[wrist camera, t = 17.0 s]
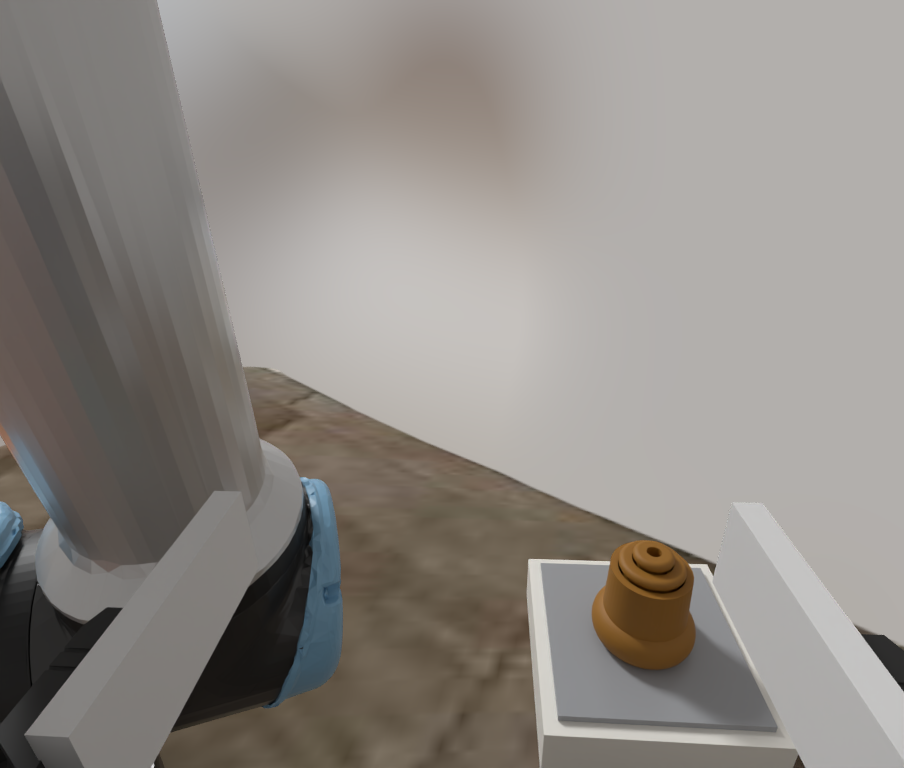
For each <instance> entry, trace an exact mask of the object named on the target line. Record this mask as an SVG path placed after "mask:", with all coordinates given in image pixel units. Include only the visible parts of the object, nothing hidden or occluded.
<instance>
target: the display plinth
mask: <svg viewBox="0 0 904 768" xmlns="http://www.w3.org/2000/svg"><path fill="white" fill-rule="evenodd" d="M609 565H610V561H578V560H546V559H528V580H527V605H528V618H529V631H530V644H531V657H532V670H533V683H534V696H535V709H536V722H537V736H538V749H539V762H540V768H793V766H794V764H795V761H796V759H797V756H798V752H797V750H796V748H795V746H794V744H793V742H792V740H791V738H790V736H789V734H788V732H787V730H786V728H785V726H784V724H783V722H782V720H781V718H780V716H779V714H778V712H777V710H776V708H775V706H774V704H773V702H772V700H771V698H770V696H769V694H768V692H767V690H766V688H765V686H764V684H763V682H762V680H761V678H760V676H759V674H758V672H757V670H756V668H755V666H754V664H753V662H752V660H751V658H750V656H749V654H748V652H747V650H746V648H745V646H744V644H743V642H742V640H741V638H740V636H739V634H738V632H737V630H736V628H735V626H734V624H733V622H732V620H731V618H730V616H729V614H728V612H727V610H726V608H725V606H724V604H723V602H722V600H721V598H720V596H719V594H718V592H717V590H716V588H715V586H714V584H713V582H712V581H713V575H712V574H711V572H710V570H709V568H708V566H707V565H705V564H689V566H690V567H691V569H692V571H693V574H694V585H693V591H692V597H691V603H690V609H689V611H690V613H691V615H692V617H693V620H694V623H695V629H696V639H695V644H694V646H693V649H692V651H691V652H690V654H689V655H688V657H687V658H686V659H685V660H684V661H682V662H681V663H679V664H678V665H676V666H673V667H671V668H667V669H661V670H649V669H643V668H639V667H636V666H633V665H630V664H628V663H626V662H624V661H622V660H621V659H619V658H618V657H616V656H615V655H614V654H612V653H611V652H610V651H609V650H608V649H607V648H606V647H605V646H604V645H603V643H602V642H601V641H600V639H599V637H598V636H597V634H596V631H595V629H594V626H593V622H592V605H593V602H594V599H595V597H596V595H597V594H598V592H599V591H600V590H601V589H602V588H603V587H604V586H605V585H606V581H607V576H608V571H609Z"/></svg>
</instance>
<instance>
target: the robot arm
mask: <svg viewBox="0 0 904 768" xmlns="http://www.w3.org/2000/svg"><path fill="white" fill-rule="evenodd" d="M0 436H1V437H2V439H3V441H4V442H5V444H6V445H7V447H8V449H9V450H10V452H11V454H12V455H13V457H14V459H15V460H16V462H17V463H18V465H19V467H20V468H21V470H22V472H23V473H24V475H25V476H26V478H27V480H28V481H29V483H30V485H31V486H32V488H33V490H34V491H35V493H36V494H37V496H38V498H39V499H40V501H41V503H42V504H43V506H44V507H45V509H46V511H47V512H48V514H49V516H50V519H49V520H48V522H47V524H46V525H45V527H44V528H43V529H38V530H31V531H26V530H23V528H24V526H23V520H22V518H21V516H20V514H19V513H17V512H15V511H12V510H11V508H10V507H9V506H8V505H7V504H6V503H4V502H1V501H0V768H164V765H163V763H162V760H161V757H160V755H159V752H160V750H161V748H162V746H163V744H164V743H165V741H166V739H167V737H168V735H169V733H170V732H174V731H177V730H181V729H184V728H188V727H191V726H195V725H198V724H202V723H205V722H209V721H212V720H216V719H219V718H222V717H226V716H229V715H233V714H236V713H240V712H243V711H247V710H250V709H254V708H257V707H261V706H262V707H263V708H272V707H276V706H278V705H279V704H280V703H282V702H283V701H284V700H285V699H287V698H290V697H293V696H296V695H298V694H301V693H304V692H307V691H310V690H313V689H316V688H318V687H320V686H321V685H323V684H324V683H326V682H327V681H328V680H329V679H330V678H331V676H332V675H333V673H334V672H335V670H336V668H337V666H338V663H339V659H340V655H341V648H342V634H343V607H342V595H341V590H340V584H341V579H340V573H341V564H340V552H339V542H338V533H337V525H336V518H335V512H334V507H333V502H332V497H331V494H330V491H329V488H328V486H327V485H326V484H325V483H324V482H323V481H321V480H319V479H308V478H305V477H303V478H302V477H299V475H298V473H297V470H296V468H295V466H294V465H293V463H292V461H291V460H290V459H289V458H288V457H287V456H286V455H285V454H284V453H283V452H282V451H280V450H279V449H278V448H276V447H275V446H273V445H271V444H270V443H268V442H266V441H263V440H261V439H259V435H258V431H257V427H256V423H255V418H254V414H253V410H252V405H251V401H250V397H249V393H248V388H247V384H246V380H245V376H244V371H243V367H242V363H241V358H240V354H239V350H238V346H237V342H236V337H235V333H234V329H233V324H232V320H231V316H230V312H229V307H228V303H227V299H226V294H225V290H224V286H223V282H222V278H221V273H220V269H219V264H218V260H217V256H216V252H215V248H214V243H213V239H212V235H211V230H210V226H209V222H208V218H207V213H206V209H205V205H204V200H203V196H202V192H201V188H200V183H199V179H198V175H197V171H196V167H195V162H194V158H193V153H192V149H191V145H190V141H189V136H188V132H187V128H186V124H185V119H184V115H183V111H182V106H181V103H180V98H179V94H178V90H177V85H176V81H175V77H174V72H173V68H172V64H171V60H170V56H169V51H168V47H167V42H166V38H165V34H164V30H163V25H162V21H161V17H160V13H159V8H158V4H157V0H0ZM712 582H713V584H714V586H715V588H716V590H717V592H718V594H719V596H720V598H721V600H722V602H723V604H724V606H725V608H726V610H727V612H728V614H729V616H730V618H731V620H732V622H733V624H734V626H735V628H736V630H737V632H738V634H739V636H740V638H741V640H742V642H743V644H744V646H745V648H746V650H747V652H748V654H749V656H750V658H751V660H752V662H753V664H754V666H755V668H756V670H757V672H758V674H759V676H760V678H761V680H762V682H763V684H764V686H765V688H766V690H767V692H768V694H769V696H770V698H771V700H772V702H773V704H774V706H775V708H776V710H777V712H778V714H779V716H780V718H781V720H782V722H783V724H784V726H785V728H786V730H787V732H788V734H789V736H790V738H791V740H792V742H793V744H794V746H795V748H796V750H797V752H798V754H799V756H800V758H801V760H802V762H803V764H804V766H805V768H904V651H903V650H902V649H901V648H900V647H898V646H897V645H896V644H894V643H893V642H892V641H891V640H889V639H888V638H887V637H886V636H884V635H865V634H860V633H859V631H858V630H857V629H856V627H855V626H854V625H853V623H852V622H851V621H850V619H849V618H848V617H847V615H846V614H845V613H844V611H843V610H842V609H841V608H840V606H839V605H838V603H837V602H836V601H835V599H834V598H833V597H832V595H831V594H830V593H829V591H828V590H827V589H826V587H825V586H824V585H823V583H822V582H821V581H820V579H819V578H818V577H817V575H816V574H815V573H814V571H813V570H812V569H811V567H810V566H809V565H808V563H807V562H806V560H805V559H804V558H803V557H802V555H801V554H800V552H799V551H798V550H797V548H796V547H795V546H794V544H793V543H792V542H791V540H790V539H789V538H788V537H787V535H786V534H785V532H784V531H783V530H782V528H781V527H780V526H779V525H778V523H777V522H776V520H775V519H774V518H773V516H772V515H771V514H770V512H769V511H768V510H767V508H766V507H765V506H764V504H763V503H740V502H732V504H731V508H730V512H729V516H728V521H727V525H726V528H725V532H724V536H723V541H722V545H721V549H720V553H719V557H718V561H717V565H716V569H715V573H714V577H713V581H712Z"/></svg>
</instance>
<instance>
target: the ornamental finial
mask: <svg viewBox="0 0 904 768" xmlns="http://www.w3.org/2000/svg"><path fill="white" fill-rule="evenodd" d="M693 585H694V574H693V571H692V569H691V567H690V566H689V564H688V563H687V562H686V561H685V560H684V559H683V558H682V557H681V556H680V555H679V554H677V553H676V552H675V551H674V550H672V549H671V548H669V547H667V546H665V545H663V544H661V543H659V542H656V541H646V540H641V541H634V542H630V543H626V544H624V545H621V546H620V547H618V548H617V549H616V550H615V551H614V552H613V554H612V556H611V560H610V565H609V571H608V576H607V581H606V585H605V586H604V587H603V588H602V589H601V590H600V591H599V592H598V594H597V595H596V597H595V599H594V602H593V605H592V622H593V626H594V629H595V631H596V634H597V636H598V637H599V639H600V641H601V642H602V643H603V645H604V646H605V647H606V648H607V649H608V650H609V651H610V652H611V653H612V654H614V655H615V656H616V657H618V658H619V659H621V660H622V661H624V662H626V663H628V664H630V665H633V666H636V667H639V668H643V669H649V670H661V669H667V668H671V667H673V666H676V665H678V664H679V663H681V662H682V661H684V660H685V659H686V658H687V657H688V655H689V654H690V652H691V651H692V649H693V646H694V644H695V639H696V629H695V623H694V620H693V617H692V615H691V613H690V611H689V609H690V603H691V597H692V591H693Z"/></svg>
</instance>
